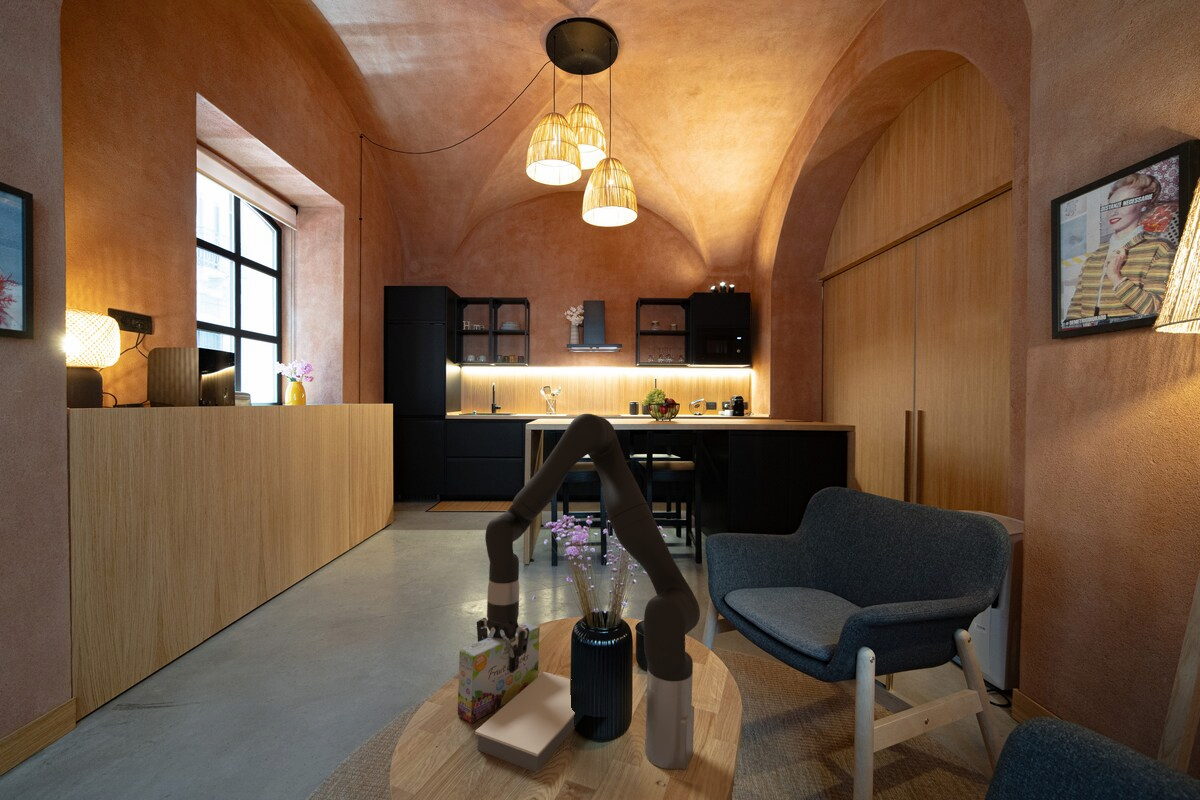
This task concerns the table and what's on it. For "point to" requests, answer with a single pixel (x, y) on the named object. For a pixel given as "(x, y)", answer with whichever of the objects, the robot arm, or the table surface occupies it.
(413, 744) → the table surface
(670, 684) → the robot arm
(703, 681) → the table surface
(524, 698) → the display podium
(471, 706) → the snack box
